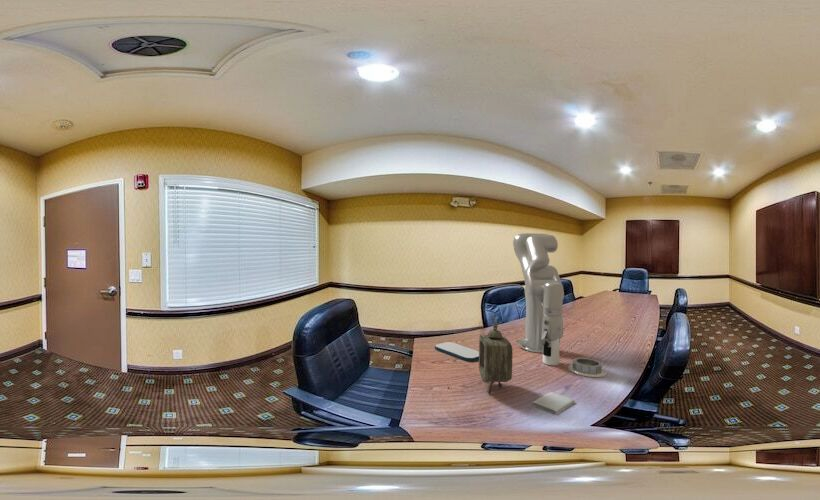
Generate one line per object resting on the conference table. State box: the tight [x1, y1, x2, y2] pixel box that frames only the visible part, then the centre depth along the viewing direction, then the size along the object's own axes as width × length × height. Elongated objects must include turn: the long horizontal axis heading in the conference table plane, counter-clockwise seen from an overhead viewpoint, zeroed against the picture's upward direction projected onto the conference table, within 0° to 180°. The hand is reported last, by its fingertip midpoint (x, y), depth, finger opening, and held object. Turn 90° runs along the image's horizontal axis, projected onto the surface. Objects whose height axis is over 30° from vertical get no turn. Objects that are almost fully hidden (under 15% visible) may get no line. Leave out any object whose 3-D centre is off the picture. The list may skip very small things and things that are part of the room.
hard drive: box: [531, 391, 575, 415], centre depth 119 cm, size 2×8×12 cm
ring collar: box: [567, 357, 608, 379], centre depth 148 cm, size 14×14×4 cm
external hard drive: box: [434, 341, 479, 363], centre depth 168 cm, size 24×12×2 cm, turn 39°
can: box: [542, 337, 561, 367], centre depth 156 cm, size 6×6×12 cm
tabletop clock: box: [478, 316, 513, 394], centre depth 130 cm, size 14×9×25 cm, turn 178°
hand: (551, 353), depth 156 cm, fingers closed on can, 6 cm apart
